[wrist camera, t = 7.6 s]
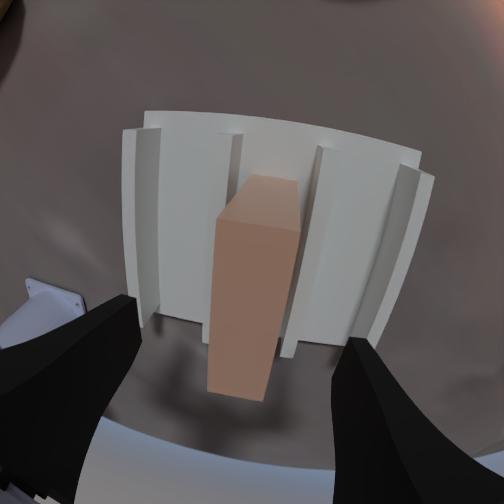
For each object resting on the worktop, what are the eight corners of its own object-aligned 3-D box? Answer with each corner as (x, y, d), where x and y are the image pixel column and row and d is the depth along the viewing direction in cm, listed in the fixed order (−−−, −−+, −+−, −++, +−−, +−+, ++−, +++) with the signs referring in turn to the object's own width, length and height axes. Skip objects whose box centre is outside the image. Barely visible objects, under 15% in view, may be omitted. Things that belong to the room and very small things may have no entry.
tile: (275, 303, 19) (262, 401, 12) (237, 296, 19) (207, 391, 12) (297, 180, 16) (301, 231, 9) (252, 173, 16) (216, 218, 9)
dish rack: (357, 338, 21) (366, 377, 17) (151, 302, 22) (129, 334, 18) (415, 150, 15) (445, 158, 11) (152, 111, 16) (118, 110, 12)
